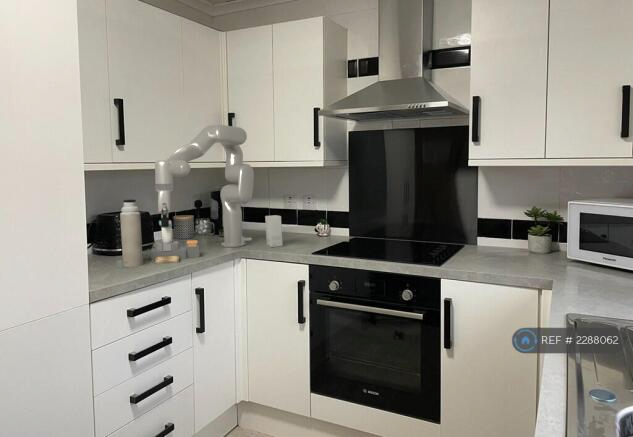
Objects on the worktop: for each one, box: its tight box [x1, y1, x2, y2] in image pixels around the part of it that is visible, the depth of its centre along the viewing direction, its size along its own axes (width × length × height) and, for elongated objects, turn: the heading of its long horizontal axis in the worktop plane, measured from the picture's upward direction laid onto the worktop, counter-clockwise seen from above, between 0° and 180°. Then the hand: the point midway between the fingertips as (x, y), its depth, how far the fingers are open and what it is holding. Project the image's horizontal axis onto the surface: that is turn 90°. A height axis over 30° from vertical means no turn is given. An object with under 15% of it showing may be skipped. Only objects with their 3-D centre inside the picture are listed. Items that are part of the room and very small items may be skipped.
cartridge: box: [158, 219, 173, 244], centre depth 231 cm, size 5×5×13 cm
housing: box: [150, 240, 200, 261], centre depth 232 cm, size 21×10×7 cm, turn 104°
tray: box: [154, 256, 180, 265], centre depth 223 cm, size 10×8×2 cm
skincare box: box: [264, 214, 284, 248], centre depth 260 cm, size 8×7×16 cm
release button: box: [186, 239, 198, 247], centre depth 234 cm, size 5×5×6 cm
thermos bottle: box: [119, 199, 144, 268], centre depth 215 cm, size 8×8×28 cm
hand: (165, 225), depth 230 cm, fingers open, 9 cm apart
